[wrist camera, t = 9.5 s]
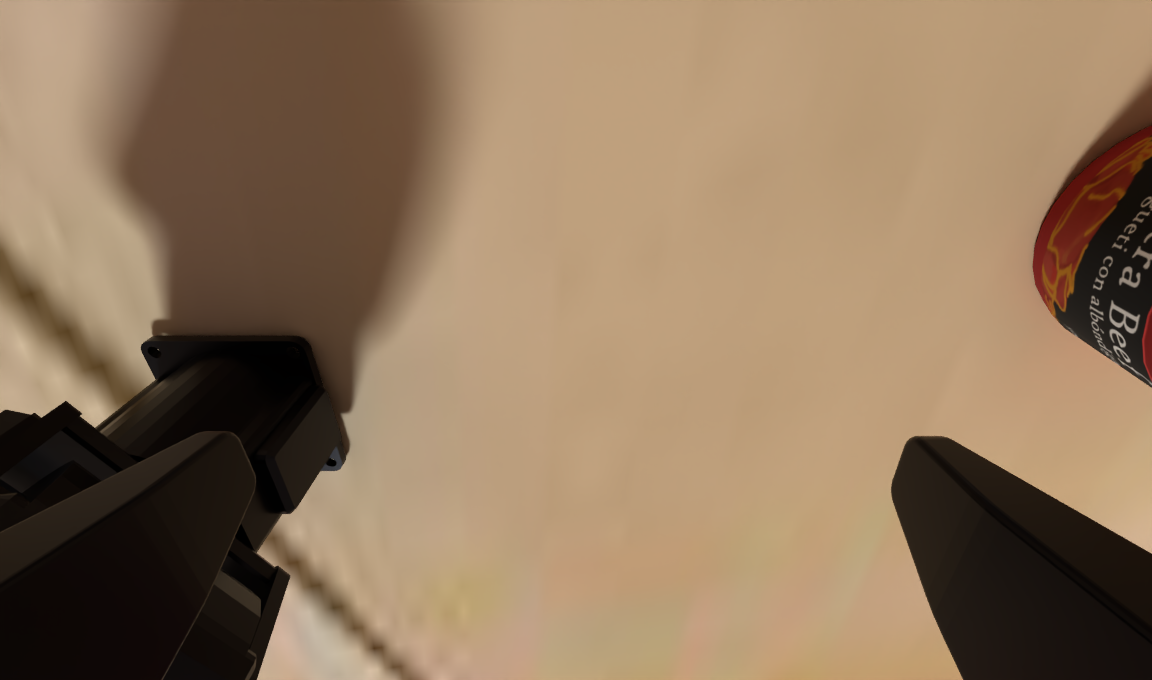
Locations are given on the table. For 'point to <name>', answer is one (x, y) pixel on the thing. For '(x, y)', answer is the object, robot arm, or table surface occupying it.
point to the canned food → (1104, 256)
